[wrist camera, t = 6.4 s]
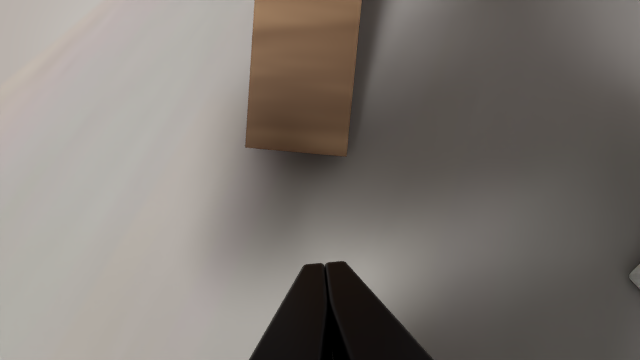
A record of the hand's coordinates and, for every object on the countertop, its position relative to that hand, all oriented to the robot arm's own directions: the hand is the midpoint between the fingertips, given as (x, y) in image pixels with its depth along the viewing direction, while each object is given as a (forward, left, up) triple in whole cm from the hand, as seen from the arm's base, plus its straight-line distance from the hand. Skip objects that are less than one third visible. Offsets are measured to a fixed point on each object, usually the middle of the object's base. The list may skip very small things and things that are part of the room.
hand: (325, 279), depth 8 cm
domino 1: (+4, -5, -7) cm, 9 cm away
